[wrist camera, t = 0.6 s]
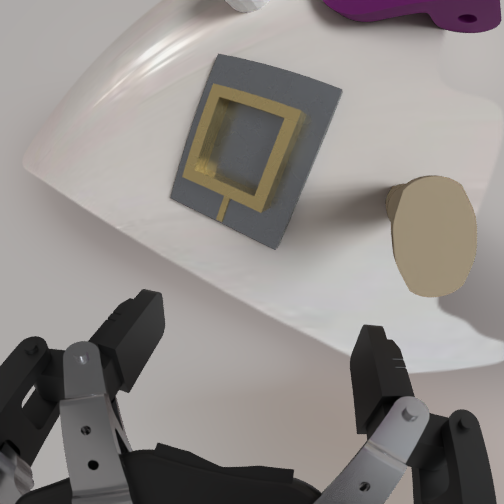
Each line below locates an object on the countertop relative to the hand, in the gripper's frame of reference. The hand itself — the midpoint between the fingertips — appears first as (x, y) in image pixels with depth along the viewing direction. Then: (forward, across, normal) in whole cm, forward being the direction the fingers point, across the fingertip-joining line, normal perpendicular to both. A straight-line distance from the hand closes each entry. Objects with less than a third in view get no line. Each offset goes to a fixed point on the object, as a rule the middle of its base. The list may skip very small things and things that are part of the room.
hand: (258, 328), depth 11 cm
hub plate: (+23, +4, -5) cm, 24 cm away
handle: (+19, -12, -2) cm, 22 cm away
